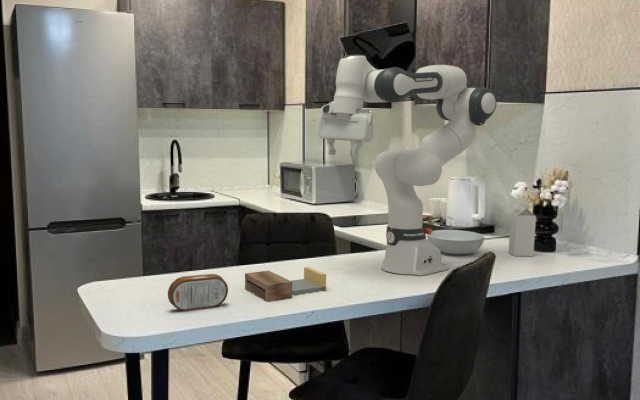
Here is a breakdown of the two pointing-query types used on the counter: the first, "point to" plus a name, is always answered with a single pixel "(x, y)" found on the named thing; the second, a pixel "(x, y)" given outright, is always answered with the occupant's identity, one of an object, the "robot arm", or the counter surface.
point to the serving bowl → (456, 241)
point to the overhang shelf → (268, 285)
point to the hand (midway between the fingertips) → (342, 155)
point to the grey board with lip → (309, 282)
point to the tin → (197, 292)
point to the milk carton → (522, 232)
